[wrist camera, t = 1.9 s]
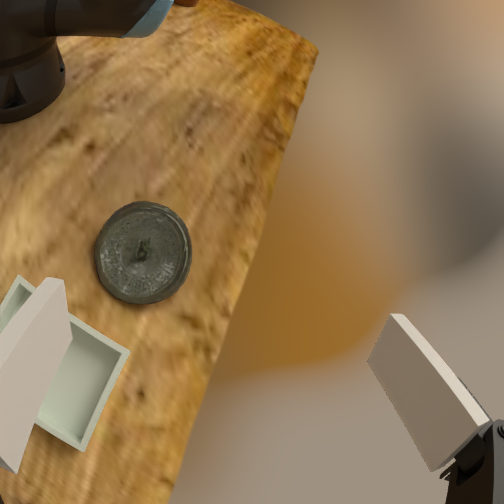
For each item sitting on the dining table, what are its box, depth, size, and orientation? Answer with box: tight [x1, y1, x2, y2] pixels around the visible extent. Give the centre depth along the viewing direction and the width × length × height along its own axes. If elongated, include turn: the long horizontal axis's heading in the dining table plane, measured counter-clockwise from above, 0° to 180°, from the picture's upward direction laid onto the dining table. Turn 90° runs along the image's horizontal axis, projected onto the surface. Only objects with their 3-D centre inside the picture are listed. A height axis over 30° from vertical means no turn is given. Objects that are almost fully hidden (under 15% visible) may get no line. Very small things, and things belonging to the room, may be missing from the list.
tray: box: [0, 274, 131, 452], centre depth 20 cm, size 13×11×3 cm
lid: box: [94, 201, 192, 304], centre depth 28 cm, size 11×10×5 cm
